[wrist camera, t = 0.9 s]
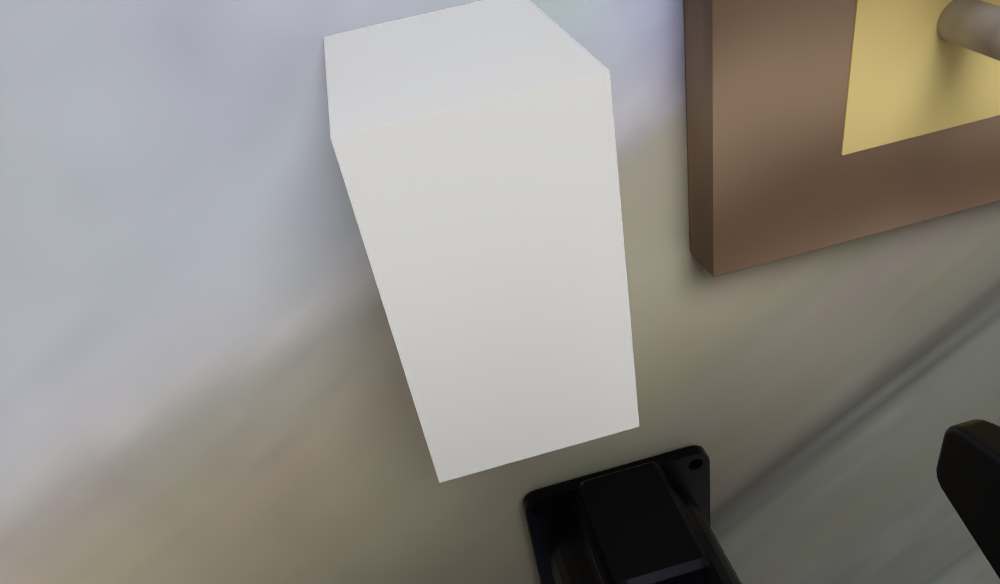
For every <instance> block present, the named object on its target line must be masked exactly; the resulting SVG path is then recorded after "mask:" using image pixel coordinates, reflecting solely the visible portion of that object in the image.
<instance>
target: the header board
mask: <svg viewBox="0 0 1000 584" xmlns="http://www.w3.org/2000/svg"><path fill="white" fill-rule="evenodd" d="M684 22H685V62H686V103H687V143H688V183H689V223H690V250H691V251H692V253H693V254H694V255H695V256H696V257H697V258H698V260H699V261H700V262H701V263H702V264H703V265H704V267H705V268H706V269H707V270H708V271H709V272H710V274H711V275H712V276H713V277H716V276H719V275H723V274H727V273H731V272H734V271H738V270H742V269H746V268H749V267H753V266H757V265H761V264H764V263H768V262H772V261H776V260H779V259H783V258H787V257H791V256H794V255H798V254H802V253H805V252H809V251H813V250H817V249H820V248H824V247H828V246H832V245H835V244H839V243H843V242H847V241H850V240H854V239H858V238H862V237H865V236H869V235H873V234H877V233H880V232H884V231H888V230H891V229H895V228H899V227H903V226H906V225H910V224H914V223H918V222H921V221H925V220H929V219H933V218H936V217H940V216H944V215H948V214H951V213H955V212H959V211H963V210H966V209H970V208H974V207H978V206H981V205H985V204H989V203H992V202H996V201H1000V0H684Z"/></svg>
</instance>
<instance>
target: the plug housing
mask: <svg viewBox="0 0 1000 584" xmlns="http://www.w3.org/2000/svg"><path fill="white" fill-rule="evenodd" d="M324 49H325V64H326V78H327V93H328V107H329V122H330V137H331V141H332V144H333V147H334V150H335V154H336V157H337V160H338V163H339V166H340V169H341V173H342V176H343V179H344V182H345V185H346V188H347V192H348V195H349V198H350V201H351V204H352V207H353V211H354V214H355V217H356V220H357V223H358V226H359V230H360V233H361V236H362V239H363V242H364V245H365V249H366V252H367V255H368V258H369V261H370V264H371V268H372V271H373V274H374V277H375V280H376V283H377V287H378V290H379V293H380V296H381V299H382V302H383V306H384V309H385V312H386V315H387V318H388V321H389V325H390V328H391V331H392V334H393V337H394V340H395V344H396V347H397V350H398V353H399V356H400V360H401V363H402V366H403V369H404V372H405V375H406V379H407V382H408V385H409V388H410V391H411V394H412V398H413V401H414V404H415V407H416V410H417V413H418V417H419V420H420V423H421V426H422V429H423V432H424V436H425V439H426V442H427V445H428V448H429V451H430V455H431V458H432V461H433V464H434V467H435V470H436V474H437V477H438V480H439V483H441V482H445V481H448V480H452V479H455V478H459V477H462V476H466V475H469V474H473V473H477V472H480V471H484V470H487V469H491V468H494V467H498V466H501V465H505V464H508V463H512V462H515V461H519V460H523V459H526V458H530V457H533V456H537V455H540V454H544V453H547V452H551V451H554V450H558V449H562V448H565V447H569V446H572V445H576V444H579V443H583V442H586V441H590V440H593V439H597V438H600V437H604V436H608V435H611V434H615V433H618V432H622V431H625V430H629V429H632V428H636V427H639V417H638V405H637V393H636V381H635V369H634V357H633V345H632V333H631V321H630V309H629V297H628V285H627V273H626V261H625V249H624V237H623V225H622V213H621V201H620V189H619V177H618V165H617V154H616V142H615V130H614V118H613V106H612V94H611V82H610V71H609V70H608V69H607V68H606V67H605V66H604V65H602V64H601V63H600V62H599V61H598V60H597V59H596V58H595V57H593V56H592V55H591V54H590V53H589V52H588V51H587V50H585V49H584V48H583V47H582V46H581V45H580V44H579V43H578V42H576V41H575V40H574V39H573V38H572V37H571V36H570V35H569V34H567V33H566V32H565V31H564V30H563V29H562V28H561V27H559V26H558V25H557V24H556V23H555V22H554V21H553V20H552V19H550V18H549V17H548V16H547V15H546V14H545V13H544V12H542V11H541V10H540V9H539V8H538V7H537V6H536V5H535V4H533V3H532V2H531V1H530V0H481V1H477V2H472V3H468V4H464V5H459V6H455V7H451V8H446V9H442V10H437V11H433V12H429V13H424V14H420V15H416V16H411V17H407V18H403V19H398V20H394V21H389V22H385V23H381V24H376V25H372V26H368V27H363V28H359V29H355V30H350V31H346V32H341V33H337V34H333V35H328V36H324Z"/></svg>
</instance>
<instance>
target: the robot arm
mask: <svg viewBox="0 0 1000 584" xmlns="http://www.w3.org/2000/svg"><path fill="white" fill-rule="evenodd" d="M937 478H938V481H939V483H940V486H941V488H942V489H943V491H944V493H945V494H946V496H947V497H948V499H949V500H950V502H951V504H952V505H953V507H954V508H955V510H956V511H957V513H958V515H959V516H960V518H961V519H962V521H963V522H964V524H965V525H966V527H967V529H968V530H969V532H970V533H971V535H972V536H973V538H974V539H975V541H976V543H977V544H978V546H979V547H980V549H981V550H982V552H983V553H984V555H985V557H986V558H987V560H988V561H989V563H990V564H991V566H992V568H993V569H994V571H995V572H996V574H997V575H998V577H999V578H1000V426H997V425H995V424H993V423H990V422H988V421H984V420H978V419H977V420H971V421H967V422H964V423H960V424H957V425H953V426H951V427H949V428H948V429H947V430H946V432H945V435H944V439H943V443H942V447H941V451H940V455H939V460H938V464H937ZM539 504H540V505H539ZM523 507H524V512H525V516H526V521H527V525H528V529H529V534H530V538H531V543H532V547H533V551H534V556H535V560H536V565H537V569H538V574H539V578H540V582H541V584H741V582H740V580H739V578H738V576H737V575H736V573H735V571H734V569H733V567H732V566H731V564H730V562H729V560H728V558H727V557H726V555H725V553H724V551H723V549H722V548H721V546H720V544H719V542H718V540H717V539H716V537H715V535H714V533H713V531H712V530H711V528H710V460H709V457H708V455H707V454H706V452H705V451H704V449H703V448H702V447H701V446H697V445H694V446H689V447H685V448H682V449H678V450H675V451H671V452H668V453H664V454H661V455H657V456H654V457H650V458H647V459H643V460H640V461H636V462H633V463H629V464H626V465H622V466H619V467H615V468H612V469H608V470H605V471H601V472H598V473H594V474H591V475H587V476H584V477H580V478H577V479H573V480H570V481H566V482H563V483H559V484H556V485H552V486H549V487H545V488H542V489H539V490H535V491H533V492H530V493H529V494H528V495H526V496H525V498H524V500H523Z"/></svg>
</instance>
